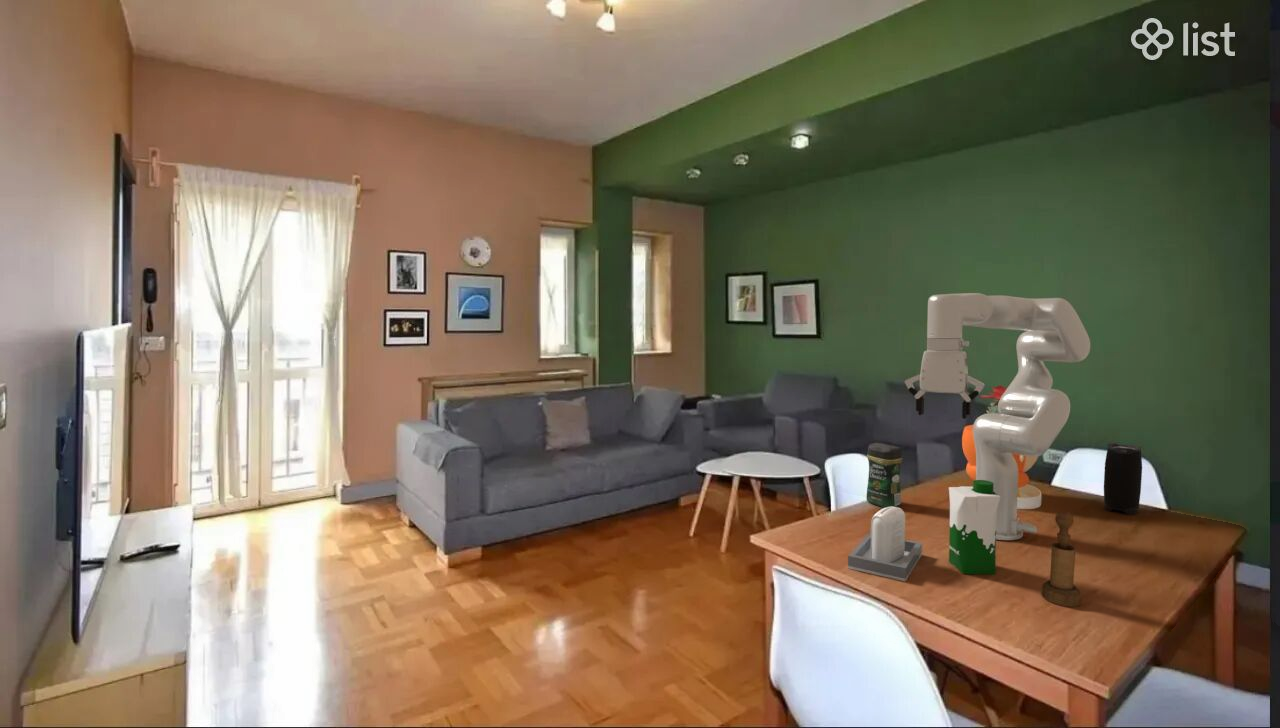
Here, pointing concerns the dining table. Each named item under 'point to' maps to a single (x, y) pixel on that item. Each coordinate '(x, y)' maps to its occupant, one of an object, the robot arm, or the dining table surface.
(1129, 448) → the portable speaker
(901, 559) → the tray
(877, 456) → the coffee jar
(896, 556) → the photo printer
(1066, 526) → the mortar and pestle
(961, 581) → the dining table surface
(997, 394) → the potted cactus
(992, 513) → the milk carton
